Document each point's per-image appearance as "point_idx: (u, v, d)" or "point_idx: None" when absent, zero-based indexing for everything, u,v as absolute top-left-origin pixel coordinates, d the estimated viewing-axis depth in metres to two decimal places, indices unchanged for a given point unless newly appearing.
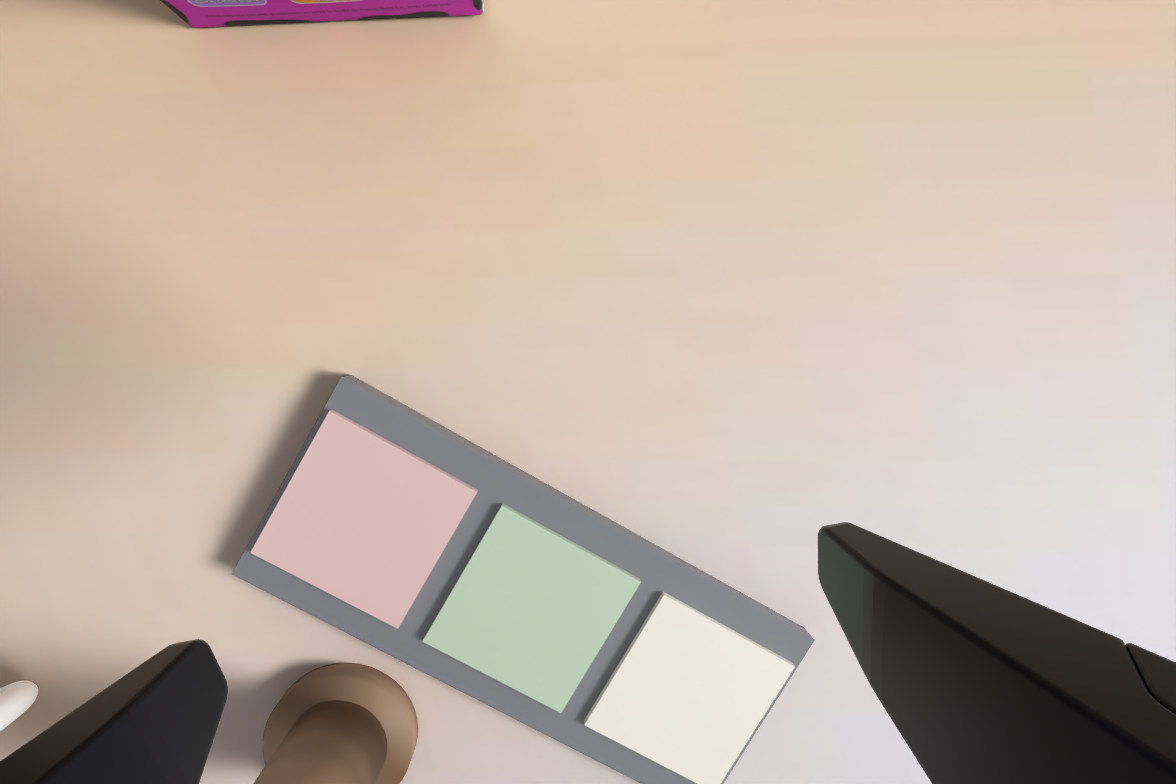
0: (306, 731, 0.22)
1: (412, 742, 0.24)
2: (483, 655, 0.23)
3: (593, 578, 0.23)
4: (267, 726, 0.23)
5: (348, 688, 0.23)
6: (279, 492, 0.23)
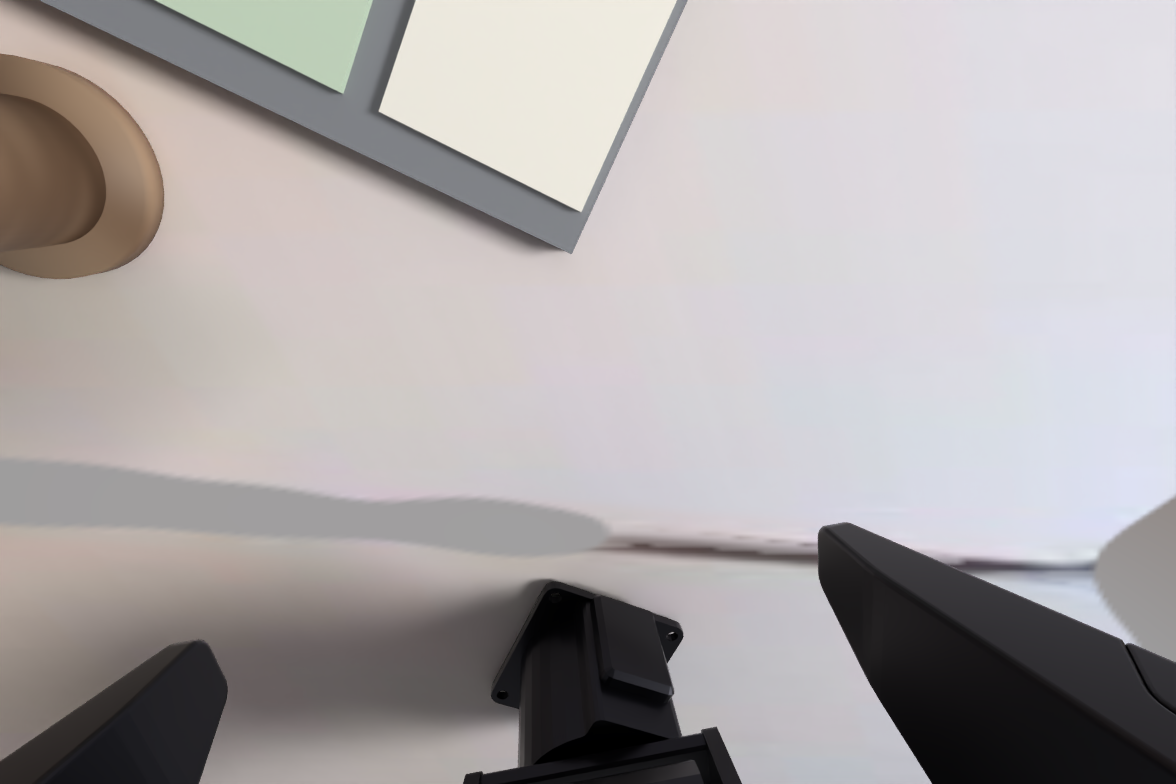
0: None
1: (141, 166, 0.17)
2: None
3: None
4: None
5: (10, 73, 0.16)
6: None
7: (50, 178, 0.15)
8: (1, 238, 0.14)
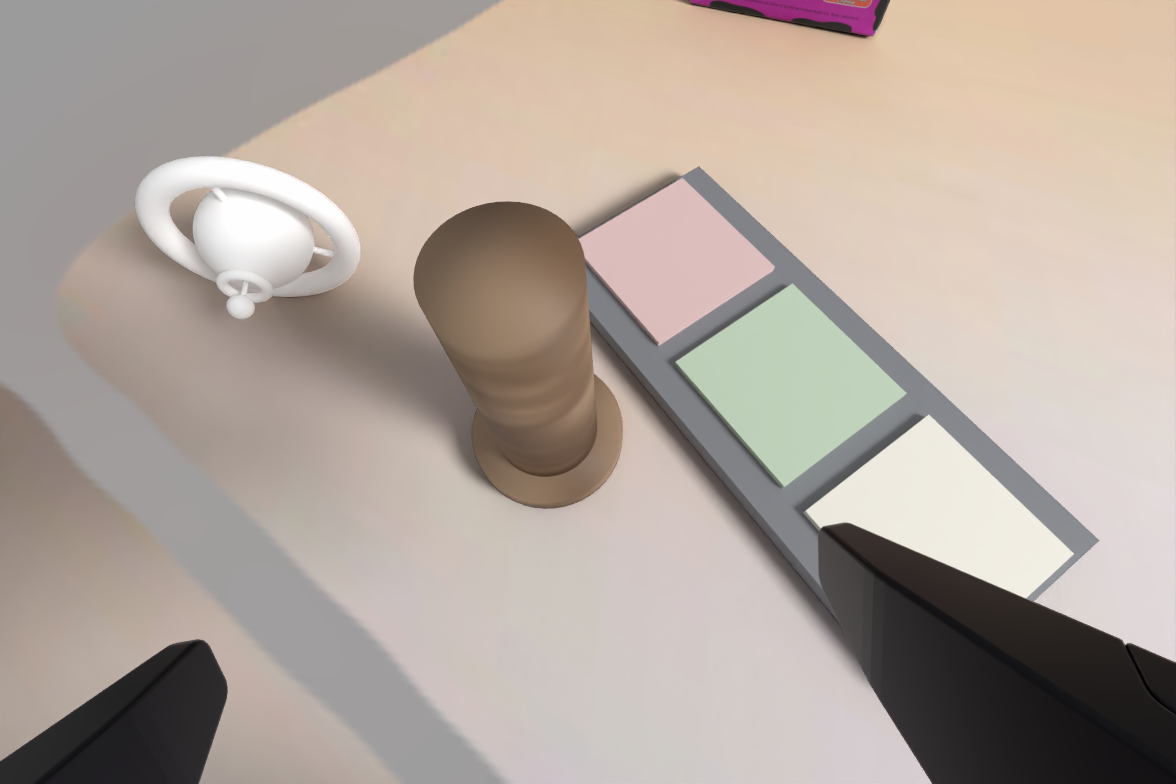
0: None
1: (615, 459, 0.22)
2: (726, 396, 0.23)
3: (858, 371, 0.23)
4: None
5: None
6: (613, 217, 0.27)
7: (586, 436, 0.21)
8: (546, 449, 0.19)
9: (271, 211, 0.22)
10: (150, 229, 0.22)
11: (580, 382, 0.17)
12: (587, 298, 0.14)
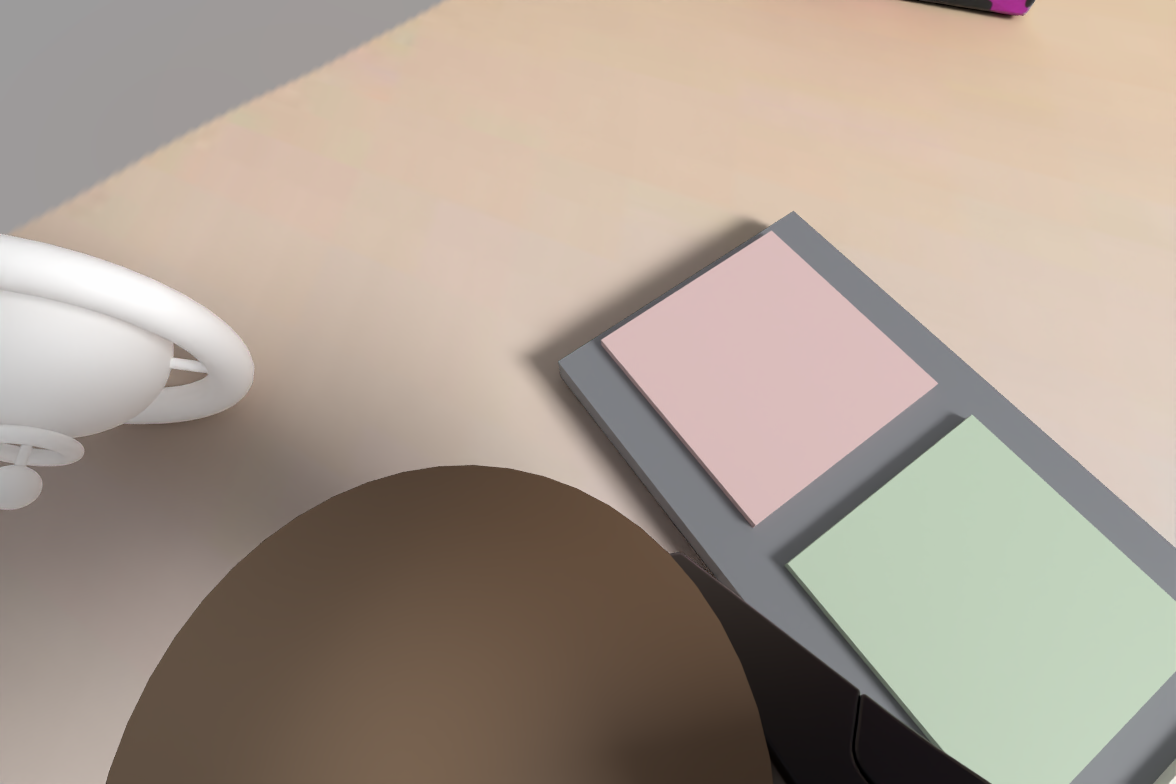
0: None
1: None
2: (885, 637, 0.13)
3: (1115, 587, 0.13)
4: None
5: None
6: (665, 295, 0.17)
7: None
8: None
9: (66, 315, 0.12)
10: None
11: None
12: None
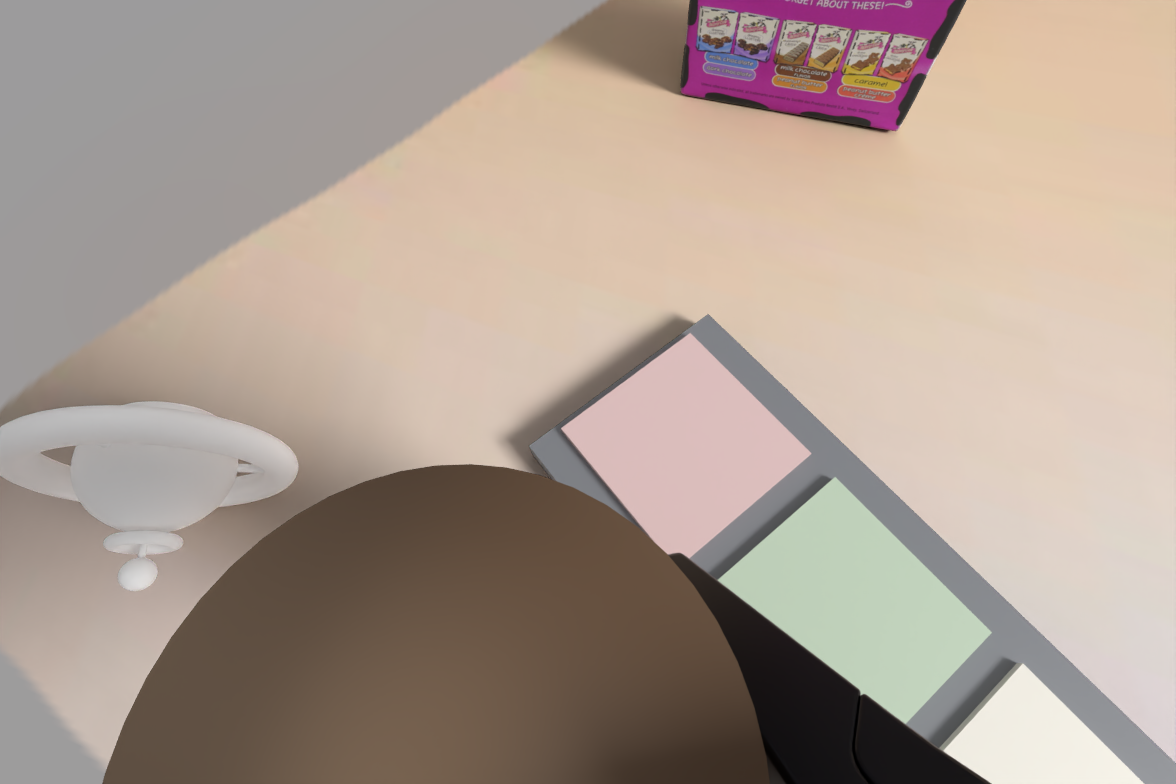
0: None
1: None
2: None
3: (929, 602, 0.18)
4: None
5: None
6: (610, 388, 0.22)
7: None
8: None
9: (172, 450, 0.17)
10: (14, 480, 0.17)
11: None
12: None
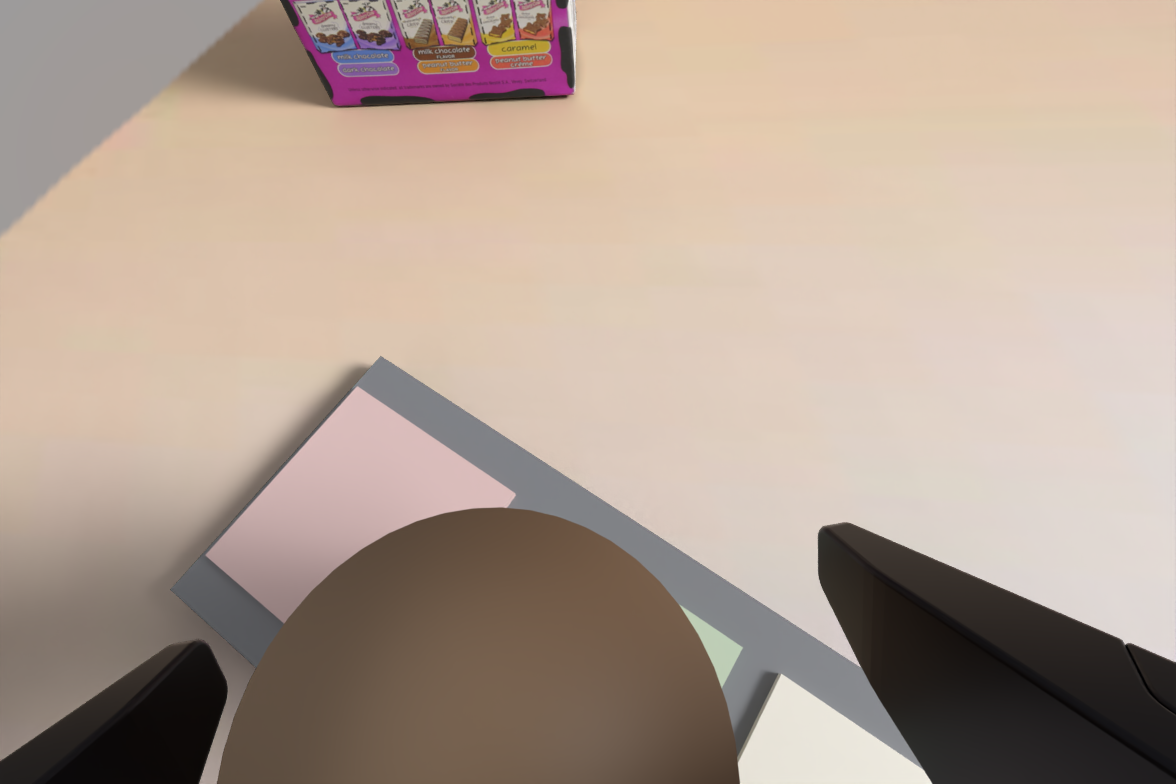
0: None
1: None
2: None
3: None
4: None
5: None
6: (269, 482, 0.18)
7: None
8: None
9: None
10: None
11: None
12: None
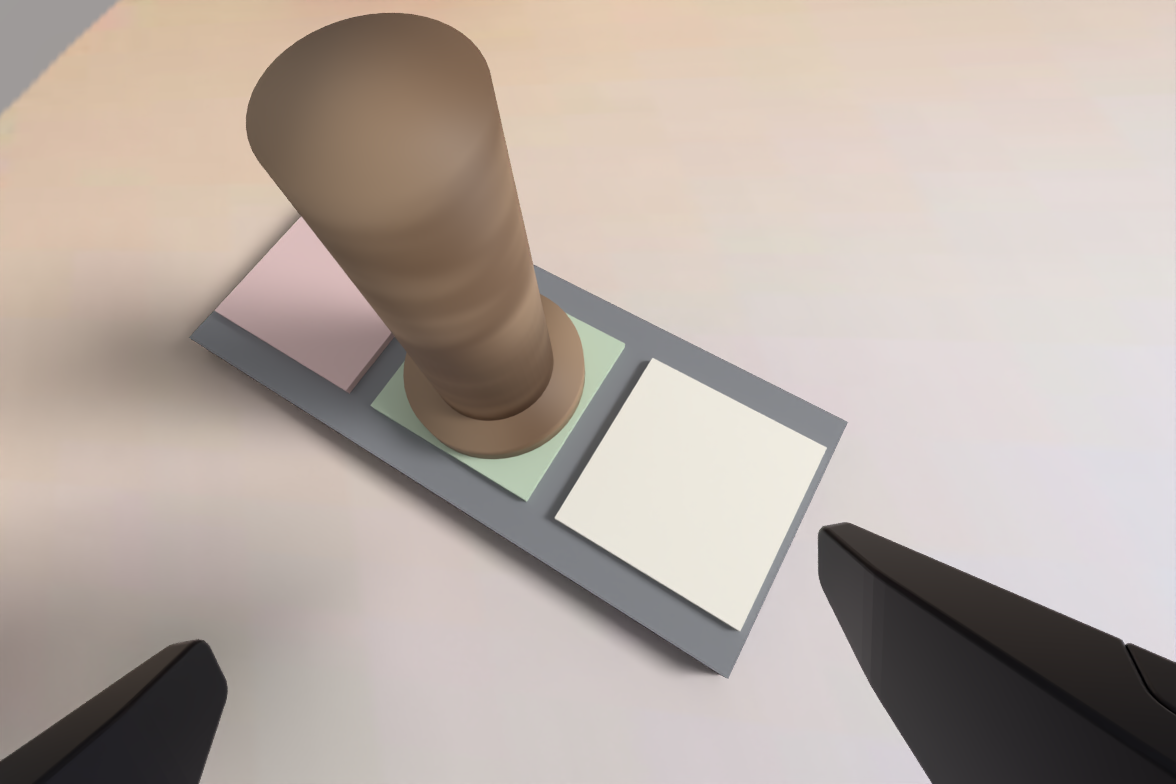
0: None
1: (576, 396, 0.19)
2: None
3: None
4: None
5: None
6: None
7: (536, 366, 0.17)
8: (483, 381, 0.15)
9: None
10: None
11: (512, 281, 0.13)
12: (504, 149, 0.10)
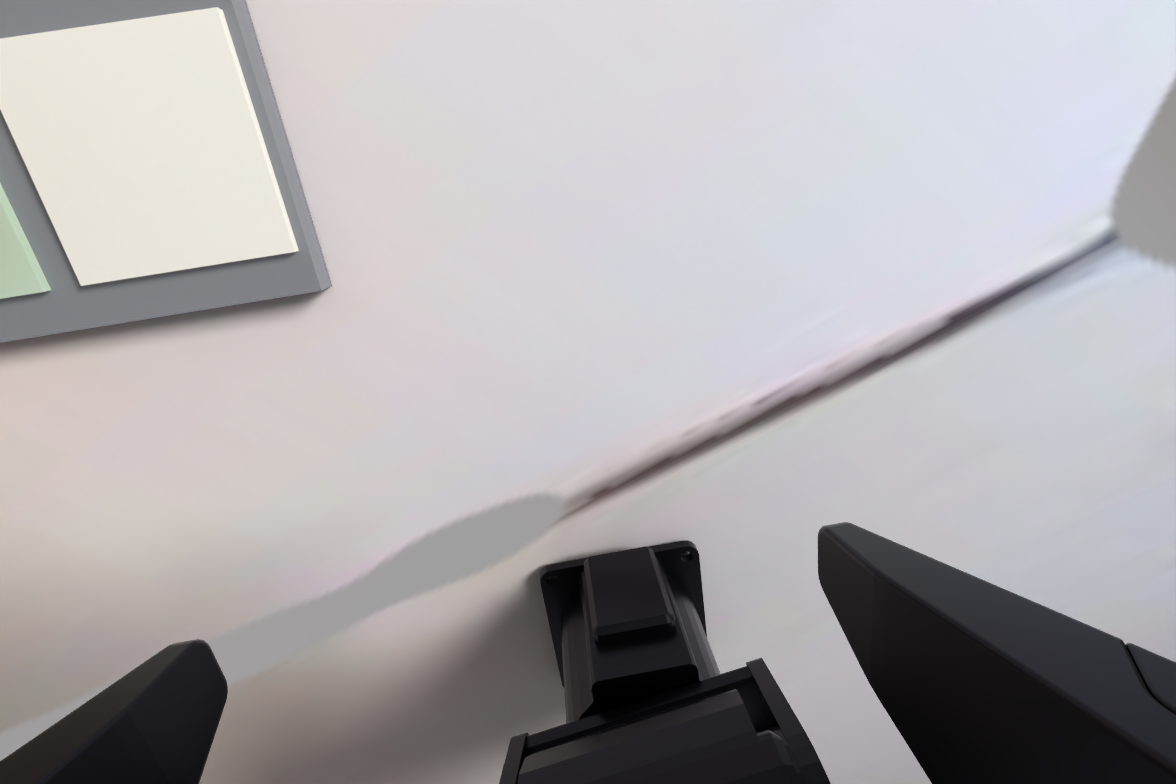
0: None
1: None
2: None
3: None
4: None
5: None
6: None
7: None
8: None
9: None
10: None
11: None
12: None
